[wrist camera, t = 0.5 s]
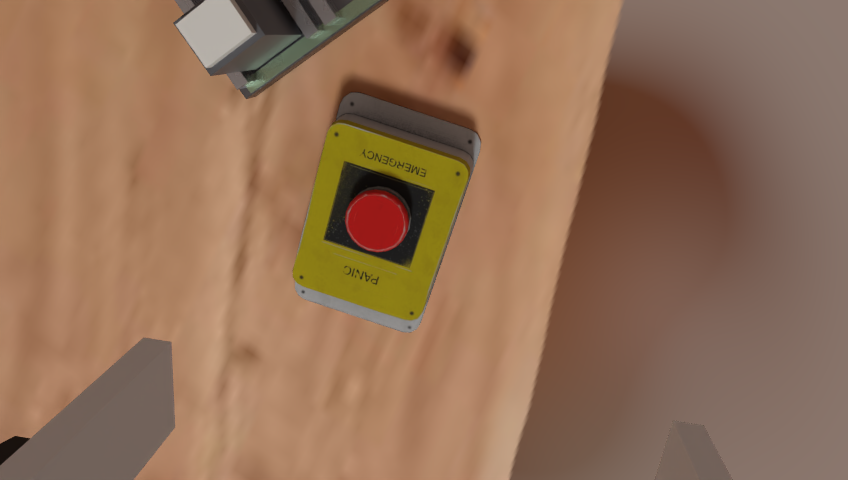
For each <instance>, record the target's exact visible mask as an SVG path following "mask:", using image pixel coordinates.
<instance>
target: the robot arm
mask: <svg viewBox="0 0 848 480" xmlns="http://www.w3.org/2000/svg"><path fill="white" fill-rule="evenodd" d="M174 428H175V415H174V392H173V369H172V346H171V342H169V341H162V340H156V339H149V338H143V339H142V340H140V341H139V342H138V343H137V344H136V345H135V346H134V347H133V348H131V349H130V350H129V351H128V352H127V353H126V354H125V355H124V356H122V357H121V358H120V359H119V360H118V361H117V362H116V363H115V364H114V365H112V366H111V367H110V368H109V369H108V370H107V371H106V372H105V373H103V374H102V375H101V376H100V377H99V378H98V379H97V380H96V381H94V382H93V383H92V384H91V385H90V386H89V387H88V388H87V389H85V390H84V391H83V392H82V393H81V394H80V395H79V396H78V397H77V398H75V399H74V400H73V401H72V402H71V403H70V404H69V405H68V406H66V407H65V408H64V409H63V410H62V411H61V412H60V413H59V414H57V415H56V416H55V417H54V418H53V419H52V420H51V421H50V422H48V423H47V424H46V425H45V426H44V427H43V428H42V429H41V430H39V431H38V432H37V433H36V434H35V435H34V436H33V437H32V438H31V439H30V438H24V437H18V436H14V437H12V438H10V439H8V440H7V441H5V442H3V443H1V444H0V480H134V478H135V477H136V476H137V475H138V473H139V472H140V471H141V470H142V468H143V467H144V466H145V465H146V463H147V462H148V461H149V460H150V458H151V457H152V456H153V454H154V453H155V452H156V451H157V449H158V448H159V447H160V446H161V444H162V443H163V442H164V441H165V439H166V438H167V437H168V436H169V434H170V433H171V432H172V430H173V429H174ZM655 480H732V478H731V476H730V474H729V472H728V470H727V468H726V466H725V464H724V463H723V461H722V459H721V457H720V455H719V454H718V451H717V449H716V447H715V445H714V444H713V442H712V440H711V438H710V436H709V434H708V432H707V430H706V428H705V427H704V425H698V424H692V423H685V422H679V421H673V422H672V425H671V428H670V432H669V435H668V438H667V441H666V444H665V448H664V451H663V454H662V457H661V461H660V464H659V468H658V471H657V474H656V477H655Z"/></svg>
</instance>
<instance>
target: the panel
mask: <svg viewBox="0 0 848 480" xmlns="http://www.w3.org/2000/svg"><path fill="white" fill-rule="evenodd" d="M175 1H176V3H177V4H178V6H179V7H180V8H181V10H182V11H183V13H184V14H185V13H186V12H187V11H189V10H190V9H191V8H192V7H194V6H195V5H196V4H197V3H199V2H200V1H201V0H175ZM280 1H281V2H282V4H283V5H284V7H285V8H286V10H287V11H288V13H289V15H290V16H291V18H292V19H293V21H294V22H295V24H296V25H297V27H298V28H299V30H300V31H301V33H302V34H303V35H302V36H301V37H299V38H298V39H297V40H295V41H294V42H293V43H291V44H290V45H289V46H287V47H286V48H284V49H283V50H282V51H280V52H279V53H278V54H276V55H275V56H274V57H272V58H271V59H270V60H268V61H267V62H266V63H264V64H263V65H262V66H260V67H259V68H257V69H256V70H249V71H242V72H235V73H228V74H227V76H228V77H229V78H230V80H231V81H232V83H233V84H234V86H235V87H236V88H237V90H238V89H240V91H241V92H242V94H243V95H244V97H245V98H246V99H248V98H252V97H256V96H257V95H259V94H260V93H261V92H263V91H264V90H265V89H267V88H268V87H270V86H271V85H272V84H274V83H275V82H277V81H278V80H279V79H281V78H282V77H283V76H285V75H286V74H288V73H289V72H290V71H292V70H293V69H294V68H296V67H297V66H299V65H300V64H301V63H303V62H304V61H306V60H307V59H308V58H310V57H311V56H312V55H314V54H315V53H317V52H318V51H319V50H321V49H322V48H324V47H325V46H326V45H328V44H329V43H330V42H332V41H333V40H335V39H336V38H337V37H339V36H340V35H341V34H343V33H344V32H346V31H347V30H348V29H350V28H351V27H353V26H354V25H355V24H357V23H358V22H359V21H361V20H362V19H364V18H365V17H366V16H368V15H369V14H370V13H372V12H373V11H375V10H376V9H377V8H379V7H380V6H382V5H383V4H384V3H386V2H387V1H388V0H280Z"/></svg>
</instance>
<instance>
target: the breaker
mask: <svg viewBox="0 0 848 480" xmlns="http://www.w3.org/2000/svg"><path fill="white" fill-rule="evenodd" d="M174 25H175V26H176V28H177V29H178V30H179V32H180V33H181V35H182V36H183V37H184V39H185V40H186V42H187V43H188V45H189V46H190V47H191V49H192V50H193V52H194V53H195V54H196V56H197V57H198V59H199V60H200V61H201V63H202V64H203V66H204V67H205V69H206V70H207V71H208V73H209V74H210V76H214V75H221V74H228V73H235V72H242V71H249V70H256V69H257V68H259V67H260V66H262V65H263V64H264V63H266V62H267V61H268V60H270V59H271V58H272V57H274V56H275V55H276V54H278V53H279V52H280V51H282V50H283V49H284V48H286V47H287V46H289V45H290V44H291V43H293V42H294V41H295V40H297V39H298V38H299V37H301V36H302V35H303V34H302V33H301V31H300V30H299V28H298V27H297V25H296V24H295V22H294V21H293V19H292V18H291V16H290V15H289V13H288V11H287V10H286V8H285V7H284V5H283V4H282V2H281V1H280V0H201V1H200V2H199V3H197V4H196V5H195V6H194V7H192V8H191V9H190V10H189V11H187V12H186V13H185V14H184V15H182V16H181V17H180V18H179V19H178V20H176V21H175V22H174Z"/></svg>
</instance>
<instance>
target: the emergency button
mask: <svg viewBox="0 0 848 480" xmlns="http://www.w3.org/2000/svg"><path fill="white" fill-rule="evenodd" d="M480 145H481V141H480V139H479V136H478V134H477V133H475V132H474V131H473V130H471V129H468V128H465V127H462V126H459V125H456V124H453V123H450V122H447V121H444V120H441V119H438V118H435V117H432V116H429V115H426V114H423V113H420V112H417V111H414V110H411V109H408V108H405V107H402V106H398V105H395V104H392V103H389V102H386V101H383V100H380V99H377V98H374V97H371V96H368V95H365V94H362V93H359V92H351V93H349V94H348V95H346V96H345V97H344V98H343V100H342V102H341V104H340V106H339V110H338V114H337V118H336V121H335V122H333V124H332V125H331V127H330V128H329V130H328V132H327V136H326V140H325V144H324V148H323V152H322V156H321V160H320V164H319V168H318V172H317V176H316V180H315V184H314V188H313V192H312V196H311V200H310V204H309V208H308V212H307V216H306V220H305V224H304V228H303V232H302V236H301V240H300V244H299V248H298V252H297V256H296V260H295V264H294V268H293V278H294V280H295V289H296V291H297V293H298V295H299V296H300V297H302V298H303V299H305V300H308V301H311V302H314V303H317V304H320V305H323V306H326V307H329V308H332V309H335V310H338V311H341V312H344V313H347V314H350V315H353V316H356V317H359V318H362V319H365V320H368V321H371V322H374V323H377V324H380V325H383V326H386V327H389V328H392V329H395V330H398V331H401V332H409V333H410V332H412V331H414V330H416V329H417V328H418V326H419V325H420V323H421V320H422V317H423V314H424V312H425V309H426V306H427V303H428V300H429V297H430V294H431V291H432V288H433V285H434V283H435V280H436V277H437V274H438V271H439V268H440V265H441V262H442V259H443V257H444V254H445V251H446V248H447V245H448V242H449V239H450V236H451V233H452V230H453V228H454V225H455V222H456V219H457V216H458V213H459V210H460V207H461V204H462V201H463V199H464V196H465V193H466V190H467V187H468V184H469V181H470V178H471V175H472V173H473V170H474V167H475V164H476V161H477V158H478V155H479V152H480Z"/></svg>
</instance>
